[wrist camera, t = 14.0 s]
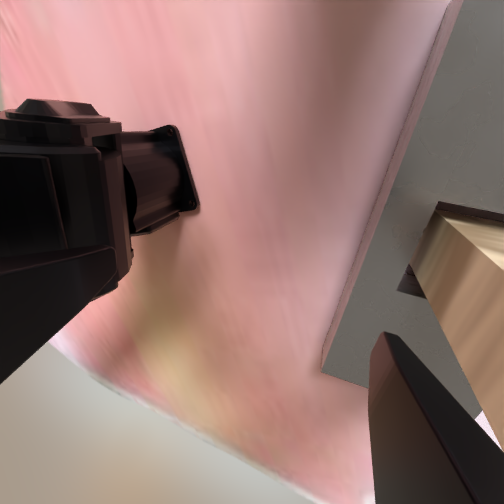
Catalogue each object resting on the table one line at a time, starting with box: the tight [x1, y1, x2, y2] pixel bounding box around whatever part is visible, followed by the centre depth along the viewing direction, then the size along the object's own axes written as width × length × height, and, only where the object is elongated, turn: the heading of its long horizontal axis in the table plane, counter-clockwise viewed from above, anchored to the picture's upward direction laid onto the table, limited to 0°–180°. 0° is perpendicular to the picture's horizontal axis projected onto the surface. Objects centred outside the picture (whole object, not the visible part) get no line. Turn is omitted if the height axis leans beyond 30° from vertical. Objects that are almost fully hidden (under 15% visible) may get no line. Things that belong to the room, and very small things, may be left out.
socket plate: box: [321, 0, 504, 419], centre depth 17 cm, size 11×24×3 cm, turn 171°
